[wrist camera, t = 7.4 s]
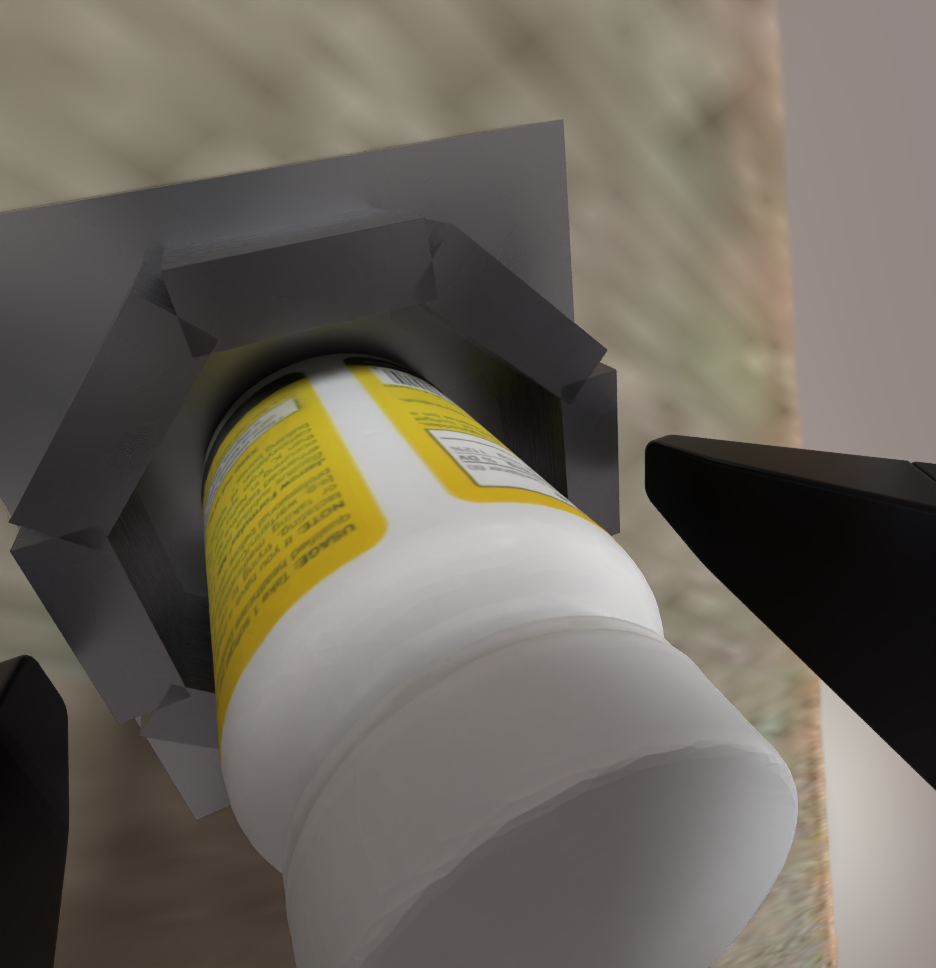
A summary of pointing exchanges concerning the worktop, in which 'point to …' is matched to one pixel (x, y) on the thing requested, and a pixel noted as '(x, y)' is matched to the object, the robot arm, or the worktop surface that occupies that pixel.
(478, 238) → the socket plate
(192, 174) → the worktop surface
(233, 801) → the supplement bottle
